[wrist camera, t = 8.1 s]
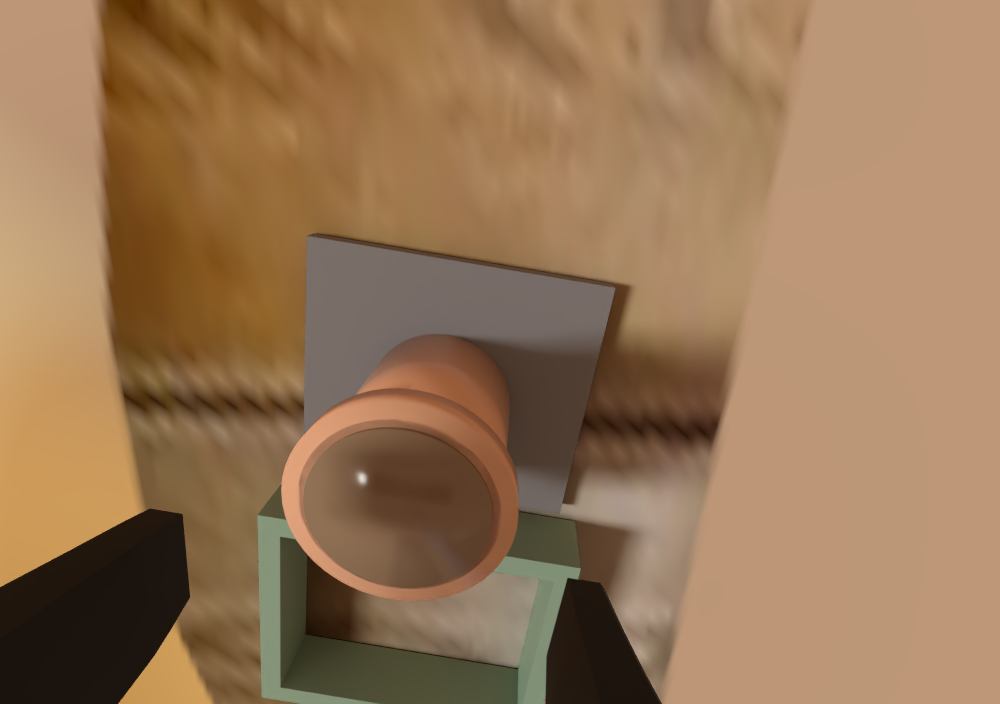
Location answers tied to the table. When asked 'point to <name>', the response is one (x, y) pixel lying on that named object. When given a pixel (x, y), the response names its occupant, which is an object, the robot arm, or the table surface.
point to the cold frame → (390, 672)
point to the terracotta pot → (410, 475)
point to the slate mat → (473, 317)
